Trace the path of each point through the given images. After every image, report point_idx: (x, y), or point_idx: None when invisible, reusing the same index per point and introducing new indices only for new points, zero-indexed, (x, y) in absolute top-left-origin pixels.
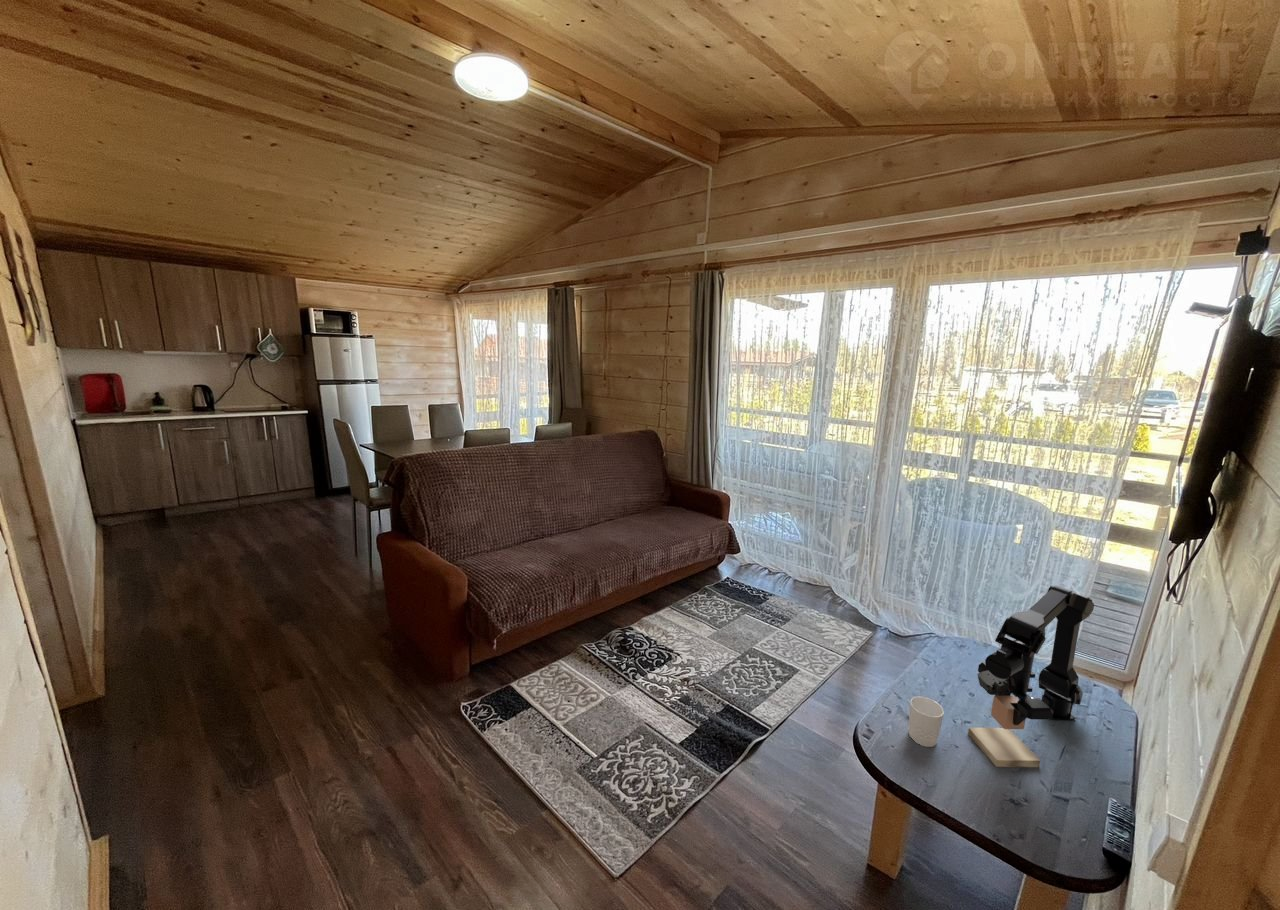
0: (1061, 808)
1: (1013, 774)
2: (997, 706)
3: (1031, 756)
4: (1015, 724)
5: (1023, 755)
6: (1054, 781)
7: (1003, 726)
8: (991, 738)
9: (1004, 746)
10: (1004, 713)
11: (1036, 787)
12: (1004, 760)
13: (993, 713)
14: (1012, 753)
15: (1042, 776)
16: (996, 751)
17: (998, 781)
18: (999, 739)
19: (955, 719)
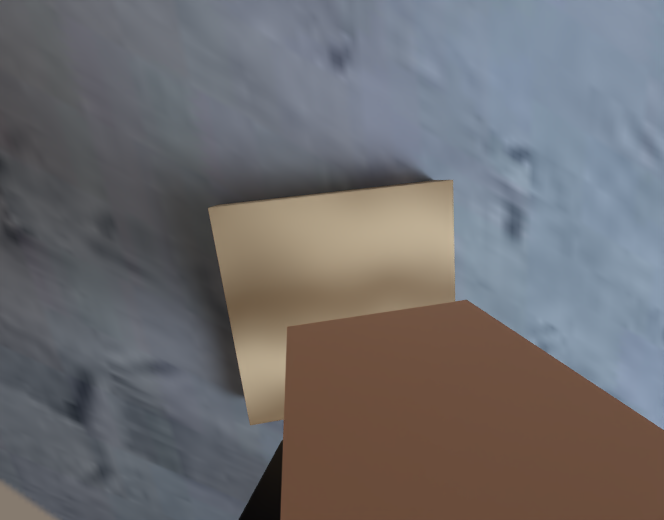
0: (13, 371)
1: (183, 266)
2: (497, 402)
3: (270, 399)
4: (278, 454)
5: (272, 366)
6: (180, 420)
7: (303, 331)
8: (377, 266)
9: (324, 304)
10: (336, 431)
11: (121, 329)
12: (216, 250)
13: (460, 320)
14: (278, 319)
15: (200, 387)
16: (279, 241)
17: (112, 162)
18: (372, 304)
19: (531, 169)
